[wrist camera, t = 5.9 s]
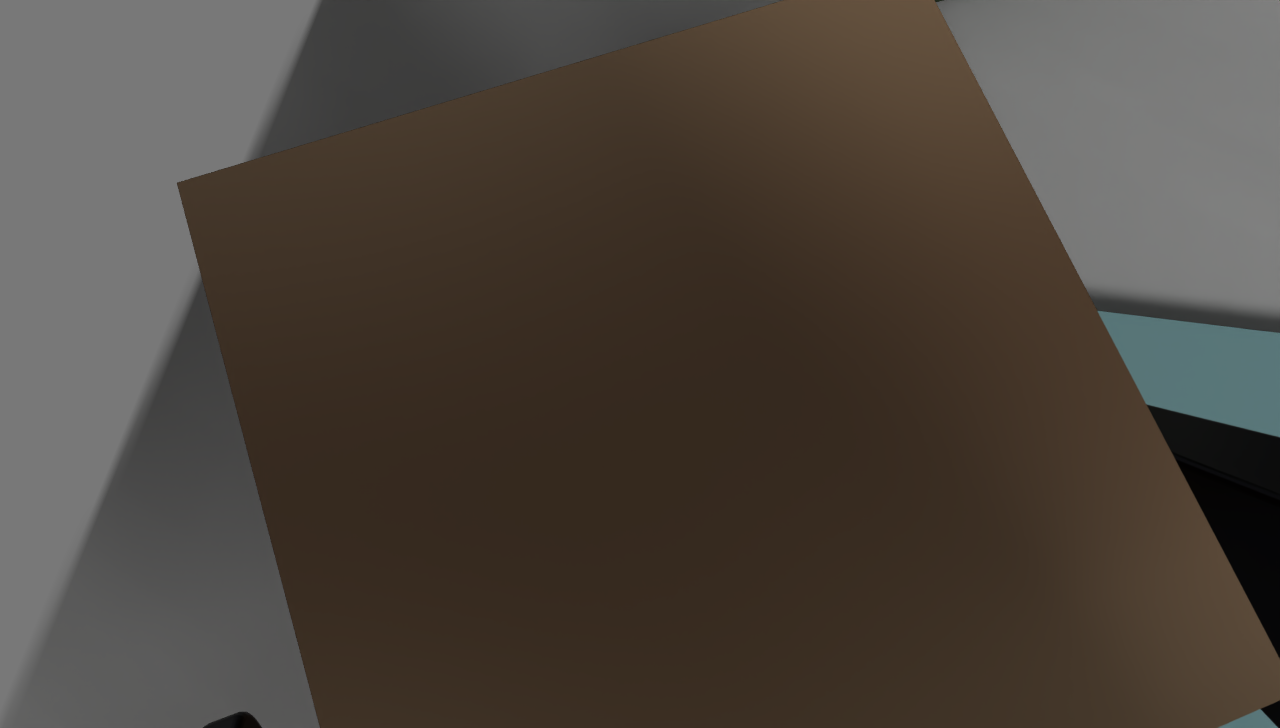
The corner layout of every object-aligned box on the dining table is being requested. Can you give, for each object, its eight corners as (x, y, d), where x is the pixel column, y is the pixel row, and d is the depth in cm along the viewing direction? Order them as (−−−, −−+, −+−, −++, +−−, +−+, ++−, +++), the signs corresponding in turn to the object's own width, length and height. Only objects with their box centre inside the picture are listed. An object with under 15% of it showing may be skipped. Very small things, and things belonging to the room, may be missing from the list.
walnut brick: (800, 633, 17) (1297, 692, 5) (556, 730, 17) (413, 1084, 4) (706, 397, 19) (913, -38, 6) (475, 480, 18) (177, 183, 5)
